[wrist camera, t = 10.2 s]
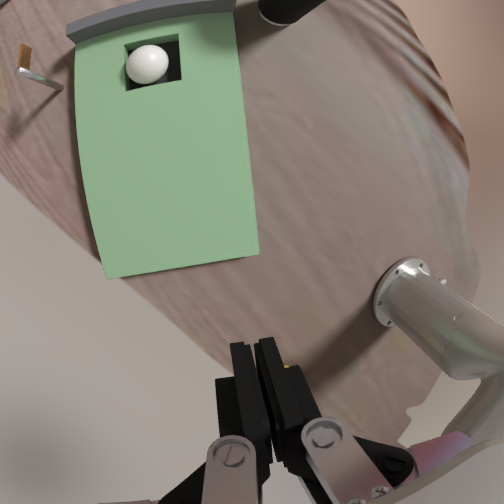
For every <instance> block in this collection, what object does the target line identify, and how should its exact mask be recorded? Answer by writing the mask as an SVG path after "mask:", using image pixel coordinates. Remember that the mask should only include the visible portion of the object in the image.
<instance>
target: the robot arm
mask: <svg viewBox="0 0 504 504" xmlns="http://www.w3.org/2000/svg"><path fill="white" fill-rule="evenodd" d="M444 285H446V279H445V278H441V279H439V280H437V279H435V278H434V277H432V276H431V275H430V270H429V268H428V266H427V264H426V263H425V262H424V261H422V260H420V259H419V258H415V257H409V258H405V259H403V260H401V261H399V262H397V263H396V264H395V265H393V266H392V267H391V268H390V269H389V270H388V271H387V273H386V274H385V275H384V276H383V278H382V280H381V281H380V283H379V285H378V287H377V289H376V292H375V295H374V300H373V312H374V315H375V317H376V319H377V320H378V321H379V322H380V323H381V324H382V325H384V326H387V327H394V326H398V327H399V328H400V329H401V330H402V331H403V332H404V333H405V334H406V335H407V336H408V337H409V338H410V339H411V340H413V341H414V342H415V343H416V344H417V345H418V346H419V347H420V348H421V349H422V350H423V351H424V352H425V353H426V354H427V355H428V356H429V357H430V358H431V359H432V360H433V361H434V362H435V363H436V364H437V365H438V366H439V367H440V368H441V369H442V370H443V371H444V372H445V373H446V374H447V375H448V376H449V377H451V378H453V379H456V380H469V379H476V378H479V379H481V383H480V386H479V387H478V388H477V390H476V391H475V393H474V394H473V396H472V397H471V398H470V399H469V401H468V402H467V403H466V404H465V406H464V407H463V408H462V409H461V410H460V411H459V413H458V414H457V415H456V416H455V417H454V418H453V420H452V421H451V422H450V423H449V424H448V425H447V427H446V428H445V430H444V431H443V433H442V435H441V436H440V437H437V438H434V439H432V440H428V441H425V442H421V443H418V444H415V445H411V447H410V448H407V449H401V448H398V447H393V446H389V445H385V444H381V443H377V442H374V441H370V440H366V439H363V438H359V437H356V436H353V435H351V433H350V432H349V431H348V429H347V428H346V427H345V425H344V424H343V423H341V422H340V421H339V420H336V419H334V418H329V417H322V416H321V413H320V411H319V409H318V407H317V404H316V402H315V400H314V398H313V395H312V393H311V391H310V389H309V386H308V384H307V382H306V380H305V377H304V375H303V373H302V371H301V369H300V367H299V366H298V365H296V366H291V367H286V368H285V367H284V364H283V362H282V359H281V356H280V354H279V351H278V348H277V346H276V343H275V340H274V338H273V337H268V338H262V339H259V343H255V344H254V349H255V359H256V367H255V363H254V359H253V355H252V351H251V347H250V344H248V345H244V342H237V343H230V349H231V356H232V363H233V370H234V376H233V377H226V378H218V379H215V387H216V399H217V411H218V422H219V432H220V438H219V439H217V440H216V441H214V442H213V443H212V444H211V445H210V447H209V449H208V452H207V459H206V462H205V463H204V464H203V465H201V466H200V467H199V468H198V469H197V470H196V471H195V472H193V473H192V474H191V475H190V476H189V477H188V478H186V479H185V480H184V481H183V482H182V483H180V484H179V485H178V486H177V487H175V488H174V489H173V490H172V491H170V492H169V493H168V494H167V495H165V496H164V497H163V498H162V499H161V500H157V501H150V500H142V501H132V502H117V503H99V504H263V493H262V485H263V483H264V482H265V481H266V480H267V479H268V478H269V477H270V467H269V464H271V463H273V458H272V444H273V448H274V452H275V456H276V459H277V462H281V461H283V464H284V467H287V468H288V472H290V473H292V474H294V475H297V476H298V478H299V480H300V482H301V484H302V486H303V488H304V489H305V491H306V493H307V495H308V497H309V498H310V500H311V502H312V504H504V326H503V325H501V324H500V323H498V322H497V321H495V320H494V319H492V318H491V317H490V316H488V315H487V314H485V313H484V312H483V311H481V310H480V309H478V308H477V307H475V306H474V305H472V304H471V303H469V302H468V301H467V300H465V299H464V298H462V297H461V296H459V295H458V294H456V293H455V292H453V291H452V290H450V289H449V288H447V287H446V286H444ZM256 368H257V371H256ZM271 440H272V444H271Z"/></svg>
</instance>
